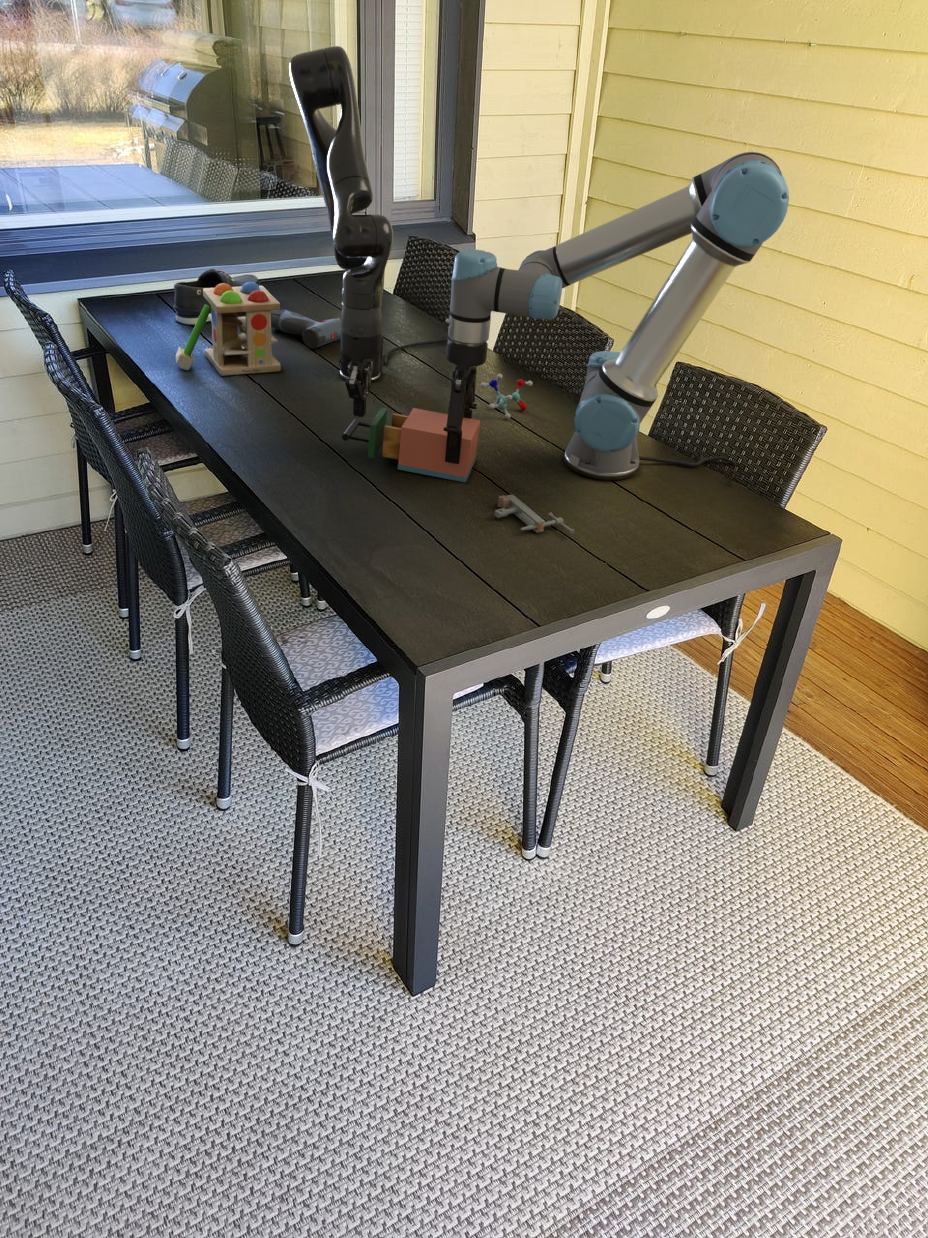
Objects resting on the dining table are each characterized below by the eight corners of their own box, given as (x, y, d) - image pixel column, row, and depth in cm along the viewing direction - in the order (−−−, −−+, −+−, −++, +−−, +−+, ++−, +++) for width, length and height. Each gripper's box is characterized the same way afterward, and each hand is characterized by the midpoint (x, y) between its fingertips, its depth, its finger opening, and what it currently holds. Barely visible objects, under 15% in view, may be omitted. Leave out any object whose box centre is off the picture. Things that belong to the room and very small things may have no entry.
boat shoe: (280, 303, 273) (279, 264, 268) (193, 326, 249) (189, 285, 244) (246, 294, 279) (244, 257, 273) (158, 317, 255) (153, 276, 250)
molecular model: (528, 411, 213) (513, 366, 211) (488, 425, 216) (474, 381, 215) (541, 408, 223) (527, 366, 222) (503, 422, 227) (489, 380, 225)
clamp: (484, 498, 180) (530, 489, 184) (483, 509, 181) (528, 500, 186) (529, 536, 169) (576, 526, 174) (527, 547, 171) (574, 537, 175)
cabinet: (397, 469, 191) (401, 426, 186) (409, 448, 199) (413, 407, 194) (465, 482, 190) (471, 440, 185) (474, 461, 198) (480, 420, 193)
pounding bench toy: (183, 379, 220) (176, 299, 210) (169, 357, 231) (162, 280, 221) (282, 371, 230) (280, 294, 220) (264, 350, 240) (262, 276, 230)
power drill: (305, 316, 264) (364, 334, 256) (257, 332, 251) (318, 351, 243) (305, 296, 261) (365, 314, 253) (257, 311, 248) (318, 330, 240)
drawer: (340, 452, 192) (342, 419, 188) (352, 434, 199) (354, 402, 196) (429, 469, 191) (432, 436, 187) (438, 451, 198) (442, 419, 194)
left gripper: (351, 314, 188) (350, 400, 198) (331, 336, 177) (331, 425, 187) (389, 319, 187) (386, 405, 197) (371, 342, 176) (369, 431, 186)
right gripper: (459, 318, 189) (449, 426, 202) (435, 356, 171) (426, 472, 183) (497, 324, 189) (485, 431, 201) (477, 362, 170) (465, 478, 183)
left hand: (359, 415), depth 192 cm, fingers closed
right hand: (457, 450), depth 192 cm, fingers closed on cabinet, 10 cm apart
